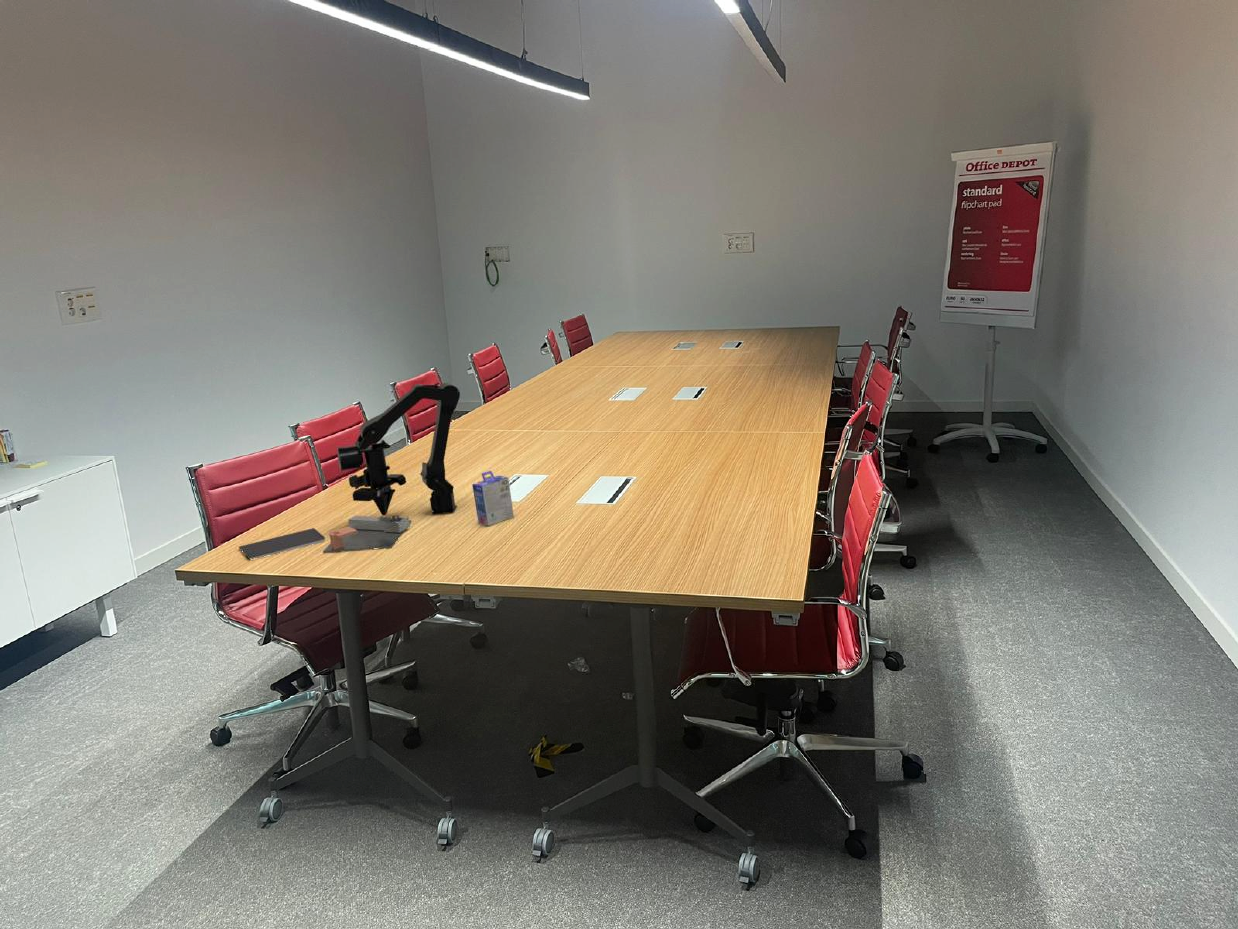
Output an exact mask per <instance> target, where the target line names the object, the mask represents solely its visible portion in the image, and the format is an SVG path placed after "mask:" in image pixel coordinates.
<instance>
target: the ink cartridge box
mask: <svg viewBox="0 0 1238 929" xmlns="http://www.w3.org/2000/svg"><path fill="white" fill-rule="evenodd" d="M486 475H490V476H486ZM481 477H482V480H481V481H478V482H475V483H472V484H471V486H472V490H473V491H472V492H473V499H474V504H475V511H476V516H477V522H478V525H479V524H480V525H483V526H486V527H489V526H492V525H495V524H498V523H500V522H502V521H506V520H509V519H512V518H514V516H515V515H514V509H513V502H512V494H511V486H510V480H509V477H507V476H503V475H494V473H493V472H492V470H489V471H486V472H482V473H481Z"/></svg>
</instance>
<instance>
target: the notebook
mask: <svg viewBox="0 0 1238 929" xmlns="http://www.w3.org/2000/svg"><path fill="white" fill-rule="evenodd" d="M325 539H326V536H324V535H323V534H322V533H321V532H319V531H318V530H317V529H316V528H314V527H312V528H309V529H305V530H301V531H296V532H292V533H288V534H284V535H281V536H277V537H272V538H268V539H264V540H261V541H255V542H252V543H249V544H245V545H240V546H239V547H238V548H239V550H240V549H241V550H240V551H241V552H242V551H243V552H242V554H245V555H246V556H247V557H248V558H249V559H254V558H260V557H264V556H267V555H271V556H274V555H273V554H275V555H278V554H277V553H279V554H281V553H280V552H283V553H285V552H284V551H287V552H290V550H291V551H295V550H297V548H299V549H301V548H305V547H310V546H313V545H312V544H314V545H317V544H321V542H322V543H324V541H325V542H326V540H325ZM309 545H310V546H309ZM294 549H295V550H294ZM245 555H244V556H245ZM246 556H245V557H246ZM247 557H246V558H247ZM267 557H268V556H267ZM248 558H247V559H248ZM264 558H265V557H264ZM249 559H248V560H249ZM260 559H261V558H260Z"/></svg>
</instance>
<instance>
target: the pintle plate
mask: <svg viewBox="0 0 1238 929" xmlns="http://www.w3.org/2000/svg"><path fill="white" fill-rule="evenodd" d="M399 517H400V515H397V514H396V515H393V516H391V518H392V521H393V522H398V521H400V519H399ZM409 522H410V525H411V524H412V522H413V521H412V520H411V519H409ZM348 526H349V524H348V525H347V526H346V527H348ZM355 530H357V532H358V533H356V534H353V535H349V536H346V537H342V541H343V548H340V549H337V550H334V549H333V548H332V546H331V542H330V544H328V546H326V548H324V549H323V551H322V552H323V554H327V553H326V552H331V553H339V551H345V552H355V550H358V551H365V550H364V549H372V550H375V549H374V548H386V549H392V548H393V546H394V545H396V543H397V542H398V541H399V539H400V538H401V536H402V535H403V534H404V533H405V532H406V530H407V529H405V530H403V531H401V532H400V533H399V532H385V531H383V530H365V529H355ZM399 537H400V538H399ZM398 538H399V539H398ZM396 541H397V542H396ZM395 542H396V543H395Z"/></svg>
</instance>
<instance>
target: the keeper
mask: <svg viewBox="0 0 1238 929" xmlns="http://www.w3.org/2000/svg"><path fill="white" fill-rule="evenodd" d="M347 526H348V525H347ZM347 526H345V527H342V528H339V529H335V530H332V531H331V530H330V531H329V540H330V543H331V546H332V548H333V549H334V550H337V549H340V548H343V541H342V537H346V536H349V535H353V534H356V533H358V532H357V530H355V529H353V528H351V527H349V526H348V527H347Z"/></svg>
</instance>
